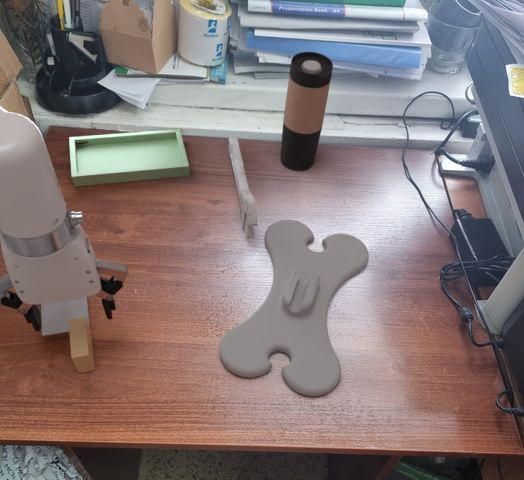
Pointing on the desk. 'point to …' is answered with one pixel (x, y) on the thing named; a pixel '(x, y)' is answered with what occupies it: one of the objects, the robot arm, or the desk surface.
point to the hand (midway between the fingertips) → (74, 317)
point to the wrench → (243, 189)
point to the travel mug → (305, 109)
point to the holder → (296, 309)
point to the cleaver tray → (128, 157)
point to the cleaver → (71, 329)
